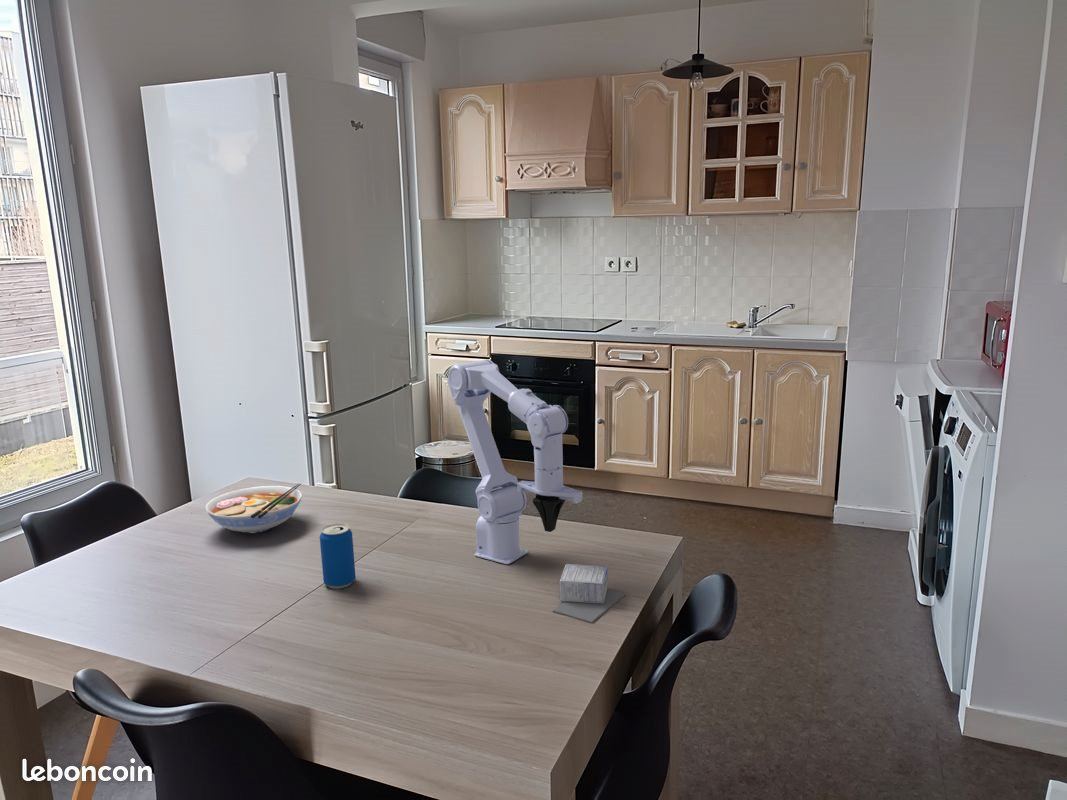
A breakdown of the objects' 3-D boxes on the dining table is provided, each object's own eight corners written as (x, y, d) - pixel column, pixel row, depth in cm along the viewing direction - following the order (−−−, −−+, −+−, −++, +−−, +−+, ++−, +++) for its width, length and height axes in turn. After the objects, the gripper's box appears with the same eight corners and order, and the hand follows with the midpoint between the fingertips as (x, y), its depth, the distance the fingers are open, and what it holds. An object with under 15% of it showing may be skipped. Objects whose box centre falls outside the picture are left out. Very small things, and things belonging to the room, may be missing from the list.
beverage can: (362, 579, 161) (358, 525, 158) (342, 592, 155) (337, 536, 152) (337, 574, 163) (333, 521, 161) (317, 587, 158) (312, 532, 155)
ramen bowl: (240, 509, 205) (236, 480, 203) (321, 511, 202) (318, 482, 200) (186, 546, 181) (182, 513, 179) (277, 549, 177) (274, 516, 176)
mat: (553, 611, 145) (552, 610, 145) (587, 585, 155) (587, 584, 155) (591, 623, 140) (591, 621, 140) (624, 595, 150) (624, 593, 150)
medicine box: (559, 601, 148) (603, 604, 146) (558, 580, 147) (603, 583, 145) (565, 583, 156) (608, 586, 154) (565, 563, 155) (608, 565, 153)
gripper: (589, 466, 154) (590, 530, 156) (530, 456, 162) (531, 517, 164) (571, 475, 148) (572, 541, 151) (510, 465, 156) (512, 528, 159)
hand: (550, 530), depth 157 cm, fingers closed
